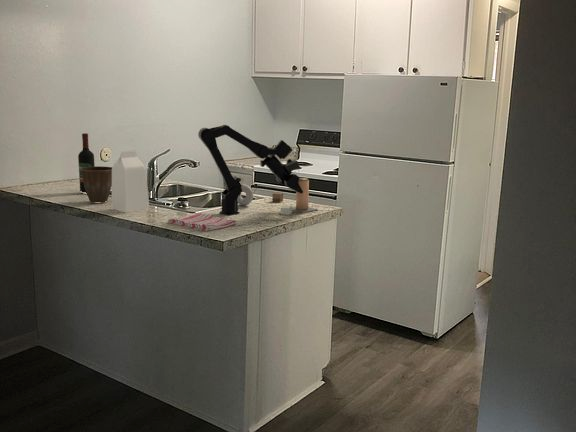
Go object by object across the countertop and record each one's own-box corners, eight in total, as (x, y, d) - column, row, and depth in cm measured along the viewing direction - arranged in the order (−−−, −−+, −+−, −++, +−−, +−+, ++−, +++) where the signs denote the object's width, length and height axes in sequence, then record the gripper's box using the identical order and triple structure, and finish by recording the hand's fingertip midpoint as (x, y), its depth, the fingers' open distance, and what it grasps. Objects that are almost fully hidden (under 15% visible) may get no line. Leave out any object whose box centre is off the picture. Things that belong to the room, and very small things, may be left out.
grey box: (289, 215, 264) (289, 208, 264) (280, 214, 265) (280, 207, 264) (292, 212, 270) (292, 205, 269) (283, 212, 271) (283, 205, 270)
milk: (126, 213, 261) (123, 153, 255) (111, 209, 268) (108, 150, 263) (149, 209, 269) (147, 151, 264) (134, 205, 277) (132, 149, 272)
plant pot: (109, 198, 294) (108, 165, 291) (119, 203, 282) (118, 169, 278) (78, 201, 286) (76, 167, 283) (87, 206, 274) (85, 171, 270)
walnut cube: (280, 202, 292) (280, 194, 291) (272, 201, 293) (272, 193, 293) (283, 201, 296) (283, 193, 295) (275, 200, 297) (275, 192, 296)
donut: (254, 205, 282) (254, 184, 280) (251, 207, 279) (251, 185, 277) (236, 203, 286) (236, 182, 284) (232, 205, 283) (232, 183, 281)
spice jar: (299, 210, 270) (299, 179, 267) (293, 208, 275) (294, 178, 272) (310, 209, 273) (311, 179, 270) (305, 207, 278) (305, 177, 275)
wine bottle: (99, 192, 308) (96, 133, 302) (87, 194, 302) (83, 134, 296) (89, 191, 312) (86, 132, 306) (77, 193, 306) (73, 133, 300)
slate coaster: (302, 213, 267) (302, 212, 267) (286, 209, 274) (286, 208, 274) (317, 210, 274) (318, 209, 274) (302, 207, 281) (302, 205, 281)
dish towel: (205, 233, 230) (205, 224, 229) (166, 223, 245) (166, 215, 244) (237, 226, 242) (237, 217, 242) (199, 217, 257) (199, 209, 257)
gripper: (295, 156, 258) (318, 181, 264) (283, 151, 276) (305, 175, 281) (277, 174, 258) (300, 199, 263) (266, 168, 275) (288, 192, 280)
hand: (299, 191), depth 272 cm, fingers open, 9 cm apart
